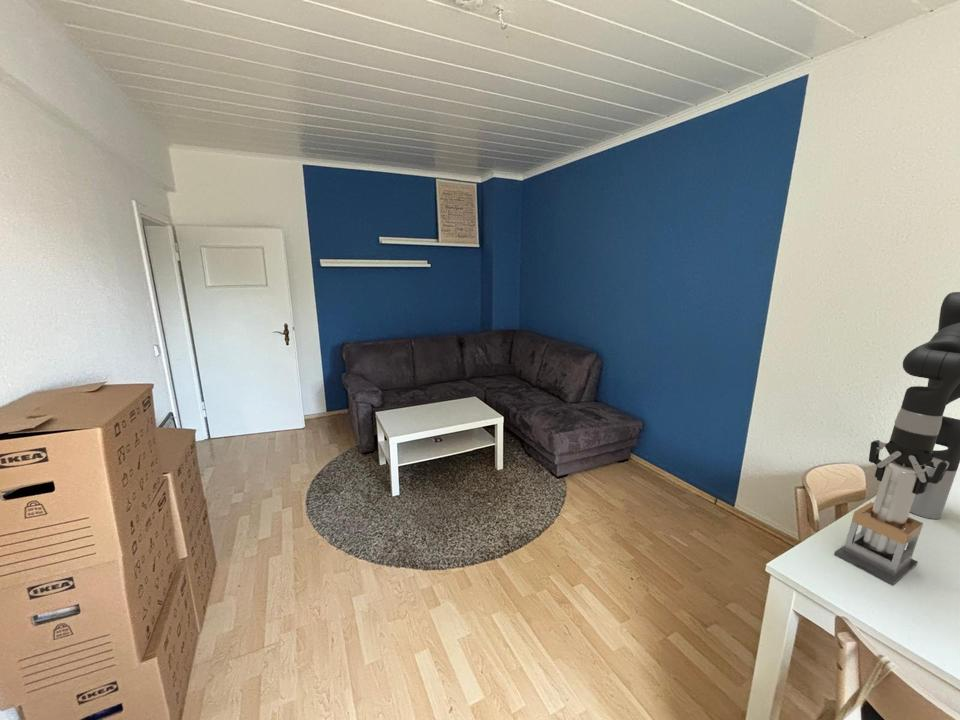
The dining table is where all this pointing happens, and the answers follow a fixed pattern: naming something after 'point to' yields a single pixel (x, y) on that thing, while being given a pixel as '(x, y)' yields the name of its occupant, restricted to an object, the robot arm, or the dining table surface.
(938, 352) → the robot arm
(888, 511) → the grey cylinder
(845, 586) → the dining table surface
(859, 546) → the collar stand
